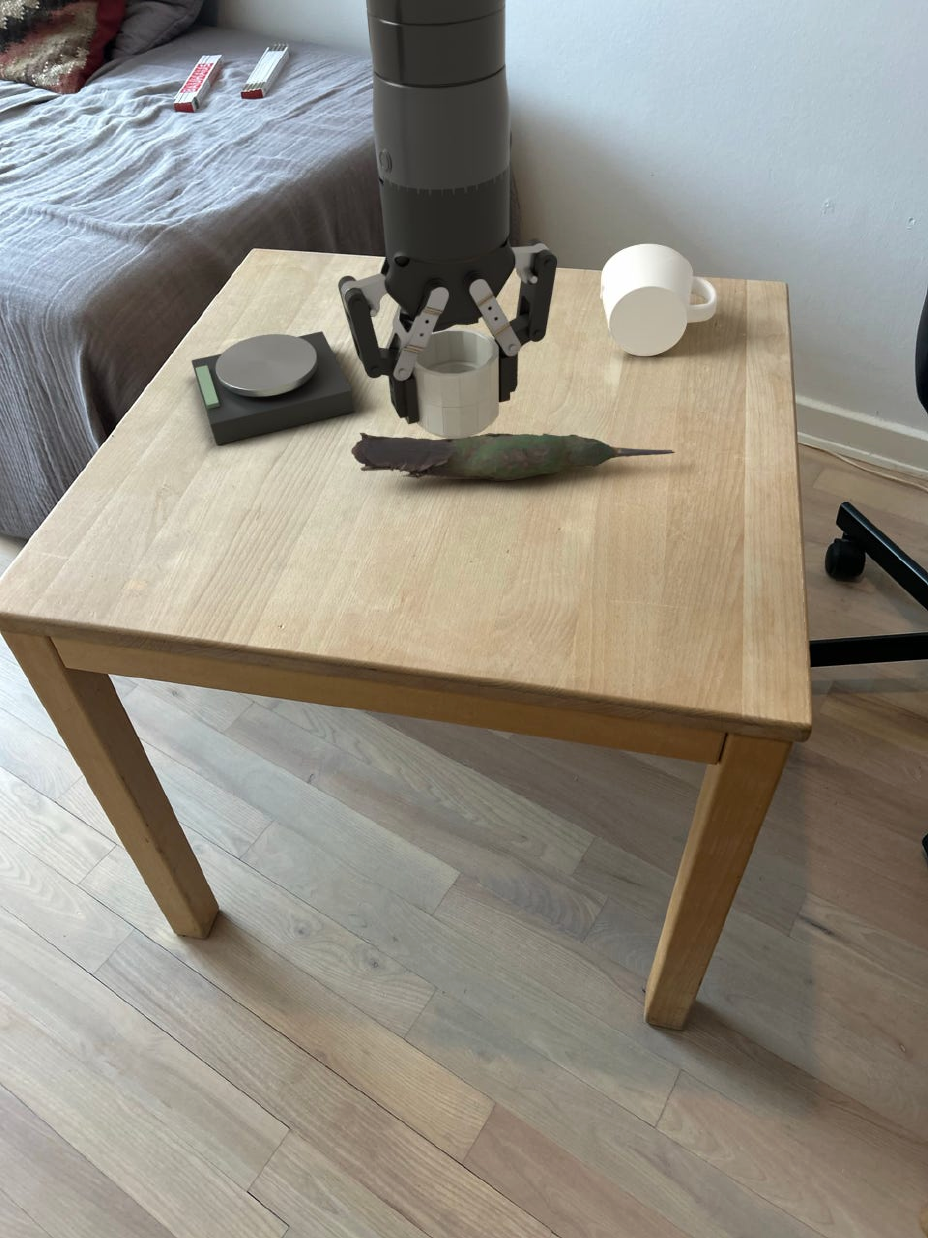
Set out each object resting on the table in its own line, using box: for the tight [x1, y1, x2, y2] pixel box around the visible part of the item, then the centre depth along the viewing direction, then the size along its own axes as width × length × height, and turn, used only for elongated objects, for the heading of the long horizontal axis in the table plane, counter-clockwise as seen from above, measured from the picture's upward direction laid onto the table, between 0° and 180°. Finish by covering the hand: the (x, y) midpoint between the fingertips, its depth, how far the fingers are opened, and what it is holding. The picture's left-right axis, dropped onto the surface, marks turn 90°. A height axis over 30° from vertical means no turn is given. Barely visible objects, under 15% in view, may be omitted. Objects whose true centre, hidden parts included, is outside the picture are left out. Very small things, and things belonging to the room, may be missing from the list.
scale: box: [191, 331, 356, 446], centre depth 89 cm, size 14×12×3 cm
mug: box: [599, 243, 719, 357], centre depth 92 cm, size 12×9×8 cm
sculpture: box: [350, 432, 676, 482], centre depth 79 cm, size 5×29×5 cm, turn 91°
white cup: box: [412, 327, 500, 439], centre depth 61 cm, size 6×6×5 cm
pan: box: [216, 333, 318, 397], centre depth 88 cm, size 10×10×1 cm
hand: (455, 405), depth 62 cm, fingers closed on white cup, 6 cm apart
